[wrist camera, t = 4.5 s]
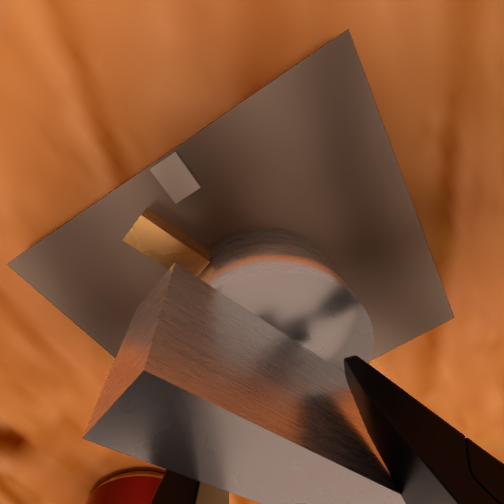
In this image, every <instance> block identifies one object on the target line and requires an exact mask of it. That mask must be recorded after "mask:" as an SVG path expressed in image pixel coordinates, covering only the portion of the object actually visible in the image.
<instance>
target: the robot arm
mask: <svg viewBox="0 0 504 504" xmlns="http://www.w3.org/2000/svg"><path fill="white" fill-rule="evenodd" d="M344 369H345V376H346V380H347V383H348V386H349V388H350V391H351V393H352V395H353V398H354V400H355V403H356V405H357V408H358V410H359V413H360V415H361V418H362V420H363V422H364V425H365V427H366V429H367V432H368V434H369V436H370V438H371V440H372V442H373V444H374V445H375V447H376V449H377V451H378V453H379V455H380V457H381V459H382V460H383V462H384V464H385V466H386V468H387V470H388V472H389V473H390V475H391V477H392V479H393V481H394V483H395V485H396V486H397V488H398V490H399V491H400V493H401V496H402V498H403V500H404V502H405V503H406V504H504V464H503V463H502V462H500V461H499V460H497V459H496V458H495V457H493V456H492V455H490V454H489V453H488V452H486V451H485V450H483V449H482V448H481V447H479V446H478V445H477V444H475V443H474V442H473V441H471V440H470V439H469V438H466V439H465V436H464V435H463V434H462V433H460V432H459V431H458V430H456V429H455V428H454V427H452V426H451V425H450V424H448V423H447V422H446V421H444V420H443V419H442V418H440V417H439V416H438V415H436V414H435V413H434V412H432V411H431V410H430V409H428V408H427V407H426V406H424V405H423V404H421V403H420V402H419V401H417V400H416V399H415V398H413V397H412V396H411V395H409V394H408V393H407V392H405V391H404V390H403V389H401V388H400V387H399V386H397V385H396V384H395V383H393V382H392V381H391V380H389V379H388V378H387V377H385V376H384V375H383V374H381V373H380V372H378V371H377V370H376V369H374V368H373V367H372V366H370V365H369V364H368V363H366V362H365V361H364V360H362V359H361V358H360V357H358V356H356V355H353V356H350V357H346V358H344ZM150 504H229V492H228V491H225V490H223V489H220V488H217V487H214V486H212V485H209V484H206V483H203V482H201V481H198V480H195V479H192V478H190V477H187V476H184V475H181V474H179V473H176V472H173V471H170V470H168V469H166V471H165V473H164V476H163V478H162V480H161V482H160V484H159V486H158V488H157V490H156V493H155V495H154V497H153V499H152V501H151V503H150Z"/></svg>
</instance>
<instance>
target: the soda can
mask: <svg viewBox="0 0 504 504" xmlns="http://www.w3.org/2000/svg"><path fill="white" fill-rule="evenodd" d="M163 476H164V474H162V473H158V472H153V471H132V472H125V473H122V474H118V475H116V476H114V477H111V478H109V479H108V480H106V481H104V482H103V483H102V484H100V485H99V486H98V487H97V488H96V489H95V490H94V491H93V492H92V493H91V494H90V496H89V497H88V499H87V501H86V503H85V504H150V503H151V501H152V499H153V497H154V495H155V493H156V490H157V488H158V486H159V484H160V482H161V480H162V478H163Z"/></svg>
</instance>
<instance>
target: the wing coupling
mask: <svg viewBox="0 0 504 504" xmlns="http://www.w3.org/2000/svg"><path fill="white" fill-rule="evenodd" d="M123 241H125V242H126V243H128V244H129V245H131V246H132V247H134V248H136V249H137V250H139V251H140V252H142V253H143V254H145V255H147V256H148V257H150V258H151V259H153V260H154V261H156V262H158V263H159V264H161V265H162V266H164V267H165V268H167V269H168V271H167V273H166V274H165V275H164V276H163V277H162V279H161V280H160V281H159V282H158V283H157V285H156V286H155V287H154V288H153V289H152V291H151V292H150V293H149V294H148V296H147V297H146V298H145V299H144V300H143V302H142V303H141V304H140V305H139V306H138V308H137V309H136V311H135V313H134V316H133V318H132V320H131V323H130V325H129V328H128V330H127V332H126V335H125V337H124V340H123V342H122V344H121V347H120V349H119V352H118V354H117V356H116V359H115V361H114V363H113V366H112V368H111V371H110V373H109V375H108V378H107V380H106V383H105V385H104V387H103V390H102V392H101V395H100V397H99V399H98V402H97V404H96V407H95V409H94V411H93V414H92V416H91V419H90V421H89V423H88V426H87V428H86V430H85V433H84V435H83V439H85V440H88V441H91V442H94V443H96V444H99V445H102V446H105V447H107V448H110V449H113V450H116V451H118V452H121V453H124V454H127V455H129V456H132V457H135V458H138V459H140V460H143V461H146V462H148V463H151V464H154V465H157V466H159V467H162V468H165V469H168V470H170V471H173V472H176V473H179V474H181V475H184V476H187V477H190V478H192V479H195V480H198V481H201V482H203V483H206V484H209V485H212V486H214V487H217V488H220V489H223V490H225V491H228V492H231V493H233V494H236V495H239V496H242V497H244V498H247V499H250V500H253V501H255V502H258V503H261V504H406V503H405V502H404V500H403V498H402V496H401V493H400V491H399V490H398V488H397V486H396V485H395V483H394V481H393V479H392V477H391V475H390V473H389V472H388V470H387V468H386V466H385V464H384V462H383V460H382V459H381V457H380V455H379V453H378V451H377V449H376V447H375V445H374V444H373V442H372V440H371V438H370V436H369V434H368V432H367V429H366V427H365V425H364V422H363V420H362V418H361V415H360V413H359V410H358V408H357V405H356V403H355V400H354V398H353V395H352V393H351V391H350V388H349V386H348V383H347V380H346V376H345V369H344V358H346V357H350V356H353V355H356V356H358V357H360V358H361V359H362V360H364V361H365V362H366V363H368V364H369V362H370V359H371V356H372V352H373V344H374V335H373V327H372V324H371V321H370V318H369V316H368V314H367V312H366V310H365V308H364V307H363V306H362V304H361V303H360V302H359V300H358V299H357V298H356V296H355V295H354V294H353V293H352V291H351V290H350V289H349V287H348V286H347V285H346V283H345V282H344V281H343V280H342V278H341V277H340V276H339V274H338V273H337V272H336V270H335V269H334V268H333V267H332V265H331V264H330V263H329V261H328V260H327V259H326V257H325V256H324V255H323V254H322V252H321V251H320V250H319V249H318V248H317V247H316V246H315V245H314V244H313V243H311V242H310V241H308V240H307V239H305V238H303V237H301V236H300V235H298V234H295V233H292V232H289V231H285V230H280V229H271V228H261V229H252V230H246V231H243V232H240V233H236V234H234V235H232V236H230V237H227V238H225V239H224V240H222V241H220V242H219V243H217V244H216V245H215V246H213V247H212V248H211V249H209V250H207V249H206V248H205V247H203V246H202V245H200V244H199V243H198V242H196V241H195V240H193V239H192V238H190V237H189V236H188V235H186V234H185V233H183V232H182V231H180V230H179V229H178V228H176V227H175V226H173V225H172V224H170V223H169V222H168V221H166V220H165V219H163V218H162V217H160V216H159V215H158V214H156V213H155V212H153V211H152V210H151V209H149V208H148V207H147V208H146V209H145V210H144V212H143V213H142V214H141V216H140V217H139V218H138V220H137V221H136V222H135V224H134V225H133V226H132V228H131V229H130V230H129V232H128V233H127V235H126V236H125V237H124V239H123Z"/></svg>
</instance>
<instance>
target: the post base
mask: <svg viewBox="0 0 504 504" xmlns="http://www.w3.org/2000/svg"><path fill="white" fill-rule="evenodd" d="M147 207H148V208H149V209H151V210H152V211H153V212H155V213H156V214H158V215H159V216H160V217H162V218H163V219H165V220H166V221H168V222H169V223H170V224H172V225H173V226H175V227H176V228H178V229H179V230H180V231H182V232H183V233H185V234H186V235H188V236H189V237H190V238H192V239H193V240H195V241H196V242H198V243H199V244H200V245H202V246H203V247H205V248H206V249H207V250H209V249H211V248H212V247H213V246H215V245H216V244H217V243H219V242H220V241H222V240H224V239H225V238H227V237H230V236H232V235H234V234H236V233H240V232H243V231H246V230H252V229H261V228H271V229H280V230H285V231H289V232H292V233H295V234H298V235H300V236H301V237H303V238H305V239H307V240H308V241H310V242H311V243H313V244H314V245H315V246H316V247H317V248H318V249H319V250H320V251H321V252H322V254H323V255H324V256H325V257H326V259H327V260H328V261H329V263H330V264H331V265H332V267H333V268H334V269H335V270H336V272H337V273H338V274H339V276H340V277H341V278H342V280H343V281H344V282H345V283H346V285H347V286H348V287H349V289H350V290H351V291H352V293H353V294H354V295H355V296H356V298H357V299H358V300H359V302H360V303H361V304H362V306H363V307H364V308H365V310H366V312H367V314H368V316H369V318H370V321H371V324H372V327H373V335H374V344H373V352H372V356H371V359H370V361H371V360H373V359H375V358H377V357H379V356H381V355H383V354H385V353H386V352H388V351H390V350H392V349H394V348H396V347H398V346H400V345H402V344H404V343H406V342H408V341H410V340H412V339H414V338H416V337H418V336H419V335H421V334H423V333H425V332H427V331H429V330H431V329H433V328H435V327H437V326H439V325H441V324H443V323H445V322H447V321H449V320H450V319H452V318H454V315H453V312H452V309H451V307H450V304H449V301H448V298H447V296H446V293H445V290H444V287H443V285H442V282H441V279H440V277H439V274H438V271H437V268H436V266H435V263H434V260H433V258H432V255H431V252H430V249H429V247H428V244H427V241H426V239H425V236H424V233H423V230H422V228H421V225H420V222H419V220H418V217H417V214H416V211H415V209H414V206H413V203H412V201H411V198H410V195H409V192H408V190H407V187H406V184H405V182H404V179H403V176H402V173H401V171H400V168H399V165H398V163H397V160H396V157H395V154H394V152H393V149H392V146H391V144H390V141H389V138H388V135H387V133H386V130H385V127H384V125H383V122H382V119H381V116H380V114H379V111H378V108H377V106H376V103H375V100H374V97H373V95H372V92H371V89H370V86H369V84H368V81H367V78H366V76H365V73H364V70H363V67H362V65H361V62H360V59H359V57H358V54H357V51H356V48H355V46H354V43H353V40H352V38H351V35H350V32H349V29H348V30H346V31H345V32H343V33H342V34H340V35H339V36H337V37H336V38H334V39H333V40H331V41H330V42H328V43H327V44H325V45H324V46H323V47H321V48H320V49H318V50H317V51H315V52H314V53H312V54H311V55H309V56H308V57H307V58H305V59H304V60H302V61H301V62H299V63H298V64H296V65H295V66H293V67H292V68H291V69H289V70H288V71H286V72H285V73H283V74H282V75H280V76H279V77H277V78H276V79H275V80H273V81H272V82H270V83H269V84H267V85H266V86H264V87H263V88H262V89H260V90H259V91H257V92H256V93H254V94H253V95H251V96H250V97H248V98H247V99H246V100H244V101H243V102H241V103H240V104H238V105H237V106H235V107H234V108H232V109H231V110H230V111H228V112H227V113H225V114H224V115H222V116H221V117H219V118H218V119H216V120H215V121H214V122H212V123H211V124H209V125H208V126H206V127H205V128H203V129H202V130H200V131H199V132H198V133H196V134H195V135H193V136H192V137H190V138H189V139H187V140H186V141H185V142H183V143H182V144H180V145H179V146H177V147H176V148H174V149H173V150H171V151H170V152H169V153H167V154H166V155H164V156H163V157H161V158H160V159H158V160H157V161H155V162H154V163H153V164H151V165H150V166H148V167H147V168H145V169H144V170H142V171H141V172H139V173H138V174H137V175H135V176H134V177H132V178H131V179H129V180H128V181H126V182H125V183H123V184H122V185H121V186H119V187H118V188H116V189H115V190H113V191H112V192H110V193H109V194H108V195H106V196H105V197H103V198H102V199H100V200H99V201H97V202H96V203H94V204H93V205H92V206H90V207H89V208H87V209H86V210H84V211H83V212H81V213H80V214H78V215H77V216H76V217H74V218H73V219H71V220H70V221H68V222H67V223H65V224H64V225H62V226H61V227H60V228H58V229H57V230H55V231H54V232H52V233H51V234H49V235H48V236H46V237H45V238H44V239H42V240H41V241H39V242H38V243H36V244H35V245H33V246H32V247H31V248H29V249H28V250H26V251H25V252H23V253H22V254H21V255H19V256H18V257H16V258H15V259H13V260H12V261H11V262H9V263H8V264H7V265H8V266H9V267H10V268H12V269H13V270H14V271H15V272H16V273H17V274H19V275H20V276H21V277H22V278H23V279H24V280H25V281H27V282H28V283H29V284H30V285H31V286H32V287H34V288H35V289H36V290H37V291H38V292H39V293H41V294H42V295H43V296H44V297H45V298H46V299H47V300H49V301H50V302H51V303H52V304H53V305H54V306H56V307H57V308H58V309H59V310H60V311H61V312H63V313H64V314H65V315H66V316H67V317H68V318H69V319H71V320H72V321H73V322H74V323H75V324H76V325H78V326H79V327H80V328H81V329H82V330H83V331H85V332H86V333H87V334H88V335H89V336H90V337H91V338H93V339H94V340H95V341H96V342H97V343H98V344H100V345H101V346H102V347H103V348H104V349H105V350H107V351H108V352H109V353H110V354H111V355H112V356H113V357H115V358H116V356H117V354H118V352H119V349H120V347H121V344H122V342H123V340H124V337H125V335H126V332H127V330H128V328H129V325H130V323H131V320H132V318H133V316H134V313H135V311H136V309H137V308H138V306H139V305H140V304H141V303H142V302H143V300H144V299H145V298H146V297H147V296H148V294H149V293H150V292H151V291H152V289H153V288H154V287H155V286H156V285H157V283H158V282H159V281H160V280H161V279H162V277H163V276H164V275H165V274H166V273H167V271H168V269H167V268H165V267H164V266H162V265H161V264H159V263H158V262H156V261H154V260H153V259H151V258H150V257H148V256H147V255H145V254H143V253H142V252H140V251H139V250H137V249H136V248H134V247H132V246H131V245H129V244H128V243H126V242H125V241H123V239H124V237H125V236H126V235H127V233H128V232H129V230H130V229H131V228H132V226H133V225H134V224H135V222H136V221H137V220H138V218H139V217H140V216H141V214H142V213H143V212H144V210H145V209H146V208H147Z"/></svg>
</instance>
